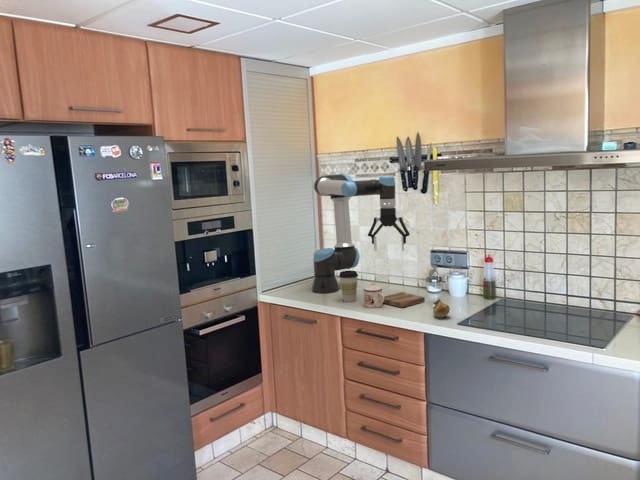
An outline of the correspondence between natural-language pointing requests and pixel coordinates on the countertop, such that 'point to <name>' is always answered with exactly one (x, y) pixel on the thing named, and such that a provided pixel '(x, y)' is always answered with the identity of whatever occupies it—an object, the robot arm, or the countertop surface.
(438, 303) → the onion
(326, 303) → the countertop surface
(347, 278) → the coffee cup
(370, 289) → the teacup with lid
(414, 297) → the walnut board
